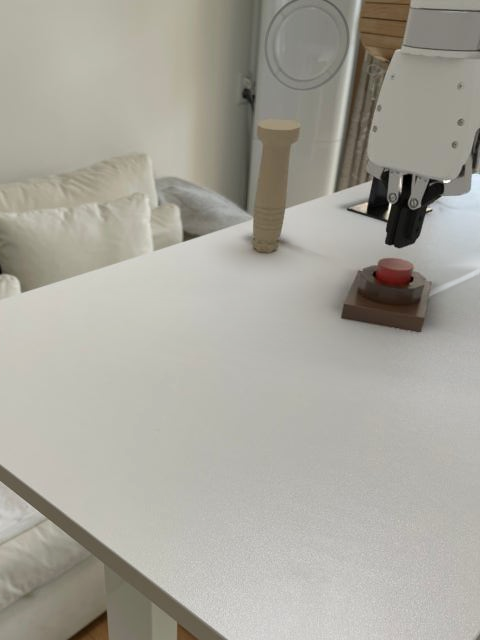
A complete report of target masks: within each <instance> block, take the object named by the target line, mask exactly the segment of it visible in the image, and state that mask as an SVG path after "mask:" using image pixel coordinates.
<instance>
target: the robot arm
mask: <svg viewBox="0 0 480 640" xmlns="http://www.w3.org/2000/svg"><path fill="white" fill-rule="evenodd" d="M366 149H367V150H366V154H367V158H368V161H367V163H366V165H365V171H366V173H367V174H369V175H371V176H372V177H373V176H374V177H376V178H377V179H380V180H381V181H382V183H383V185H384V187H385V189H386V191H387V193H388V194H387V200H388V202H389V203H391V208H390V213H389V217H388V222H386V227H385V232H386V235H385V239H384V243H385V245H387V246H390V247H391V246H393V247H394V248H396V249H400V250H401V249H403V248H405V247H408V246H411V245H414V244H415V243H416V241H417V240H418V238H420V235H421V232H422V229H423V225H424V221H425V217H426V214H427V213H426V210H427V208H428V206H431V205H433V204H434V203H435V202H436V201H438V200H439V199H441V198H442V197H458V196H463V195H466V194H468V193H470V191H471V190H472V179H473V178H472V177H473V175H474V174H477V173H478V172H479V171H480V0H410V3H409V8H408V14H407V18H406V23H405V29H404V33H403V38H402V44H401V48H399V49H396V50H394V52H393V55H392V57H391V60H390V62H389V65H388V68H387V70H386V73H385V76H384V78H383V81H382V85H381V88H380V91H379V94H378V97H377V102H376V105H375V110H374V113H373V116H372V121H371V125H370V130H369V135H368V141H367V148H366ZM416 175H417V176H418V177H417V180H416V183H415V176H416Z"/></svg>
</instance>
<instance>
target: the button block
mask: <svg viewBox="0 0 480 640" xmlns="http://www.w3.org/2000/svg"><path fill="white" fill-rule="evenodd" d="M377 265H378V264H377ZM377 265H376V264H375V265H371V266H367V267H365V268H364V267H363V268H362V270H357V273H356V275H355V278H354V279H353V282H352V284H351V287H350V288H349V291H348V293H347V295H346V298H345V300H344V302H343V305H342V310H341V316H340V318H341V319H343V320H349V321H355V322H360V323H365V324H370V325H377V326H382V327H386V326H387V327H388V328H392V327H394V328H393V329H397V328H399V329H398V330H403V329H404V331H408V330H410V331H409V332H414V331H415V332H414V333H419V332H421V333H422V330H423V327H424V323H425V319H426V313H427V309H428V303H429V299H430V298H429V297H430V292H431V287H432V281H428V280H427V278H426V277H425V276H423V275H422V274H421V273H420V272H419V271H415V270H413V272H412V276H411V280H410V283H408V284H397V285H396V284H390V283H384V282H382V281H379V280H377V279H376V278H375V274H376V269H377ZM387 327H386V328H387Z"/></svg>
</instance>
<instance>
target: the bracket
mask: <svg viewBox="0 0 480 640" xmlns="http://www.w3.org/2000/svg"><path fill="white" fill-rule="evenodd" d="M417 177H418V176H417V175H416V176H415V183H416V180H417ZM387 194H388V193H387V191H386V189H385V187H384V185H383V183H382V181H381V180H380V179H377V178H376V177H374V176H372V181H371V186H370V192H369V196H368V201H366V202H364V203H360V204H357V205H353V206H350V207H347V208H346V211H348V212H352V213H354V214H358V215H361V216H365V217H368V218H371V219H374V220H378V221H381V222H385V223H387V222H388V217H389V213H390V208H391V203H389V202H388V200H387ZM431 212H433V208H430V207H427V210H426V214H429V213H431Z"/></svg>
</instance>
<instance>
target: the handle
mask: <svg viewBox="0 0 480 640" xmlns="http://www.w3.org/2000/svg"><path fill="white" fill-rule="evenodd" d="M300 130H301V123H299V122H297V121H296V120H291V119H283V118H267V119H263V120H260V121H258V123H257V128H256V138H257V139H258V140H259V141H260V142H261V144H262V150H261V158H260V165H259V172H258V179H257V183H256V184H257V185H256V189H255V190H256V191H255V197H254V205H253V220H252V235H253V237H252V248H253V250H256V251H257V252H258V253H267V254H271V253H272V252H276V251H277V250H278V249H279V246H280V238H281V234H282V231H283V225H284V221H285V220H284V219H285V214H286V206H287V196H288V195H287V194H288V179H289V165H290V154H291V148H292V147H291V146H292V144H295V143H296V142H297V141H298V140H299V137H300Z"/></svg>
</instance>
